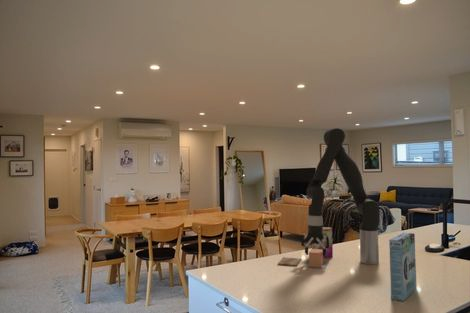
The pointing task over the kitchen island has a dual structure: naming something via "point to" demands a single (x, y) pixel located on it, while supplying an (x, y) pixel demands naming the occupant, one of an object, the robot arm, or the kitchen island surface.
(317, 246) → the candy bar box
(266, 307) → the kitchen island surface
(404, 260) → the gum box
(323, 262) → the tile
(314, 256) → the terracotta block
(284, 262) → the walnut board
